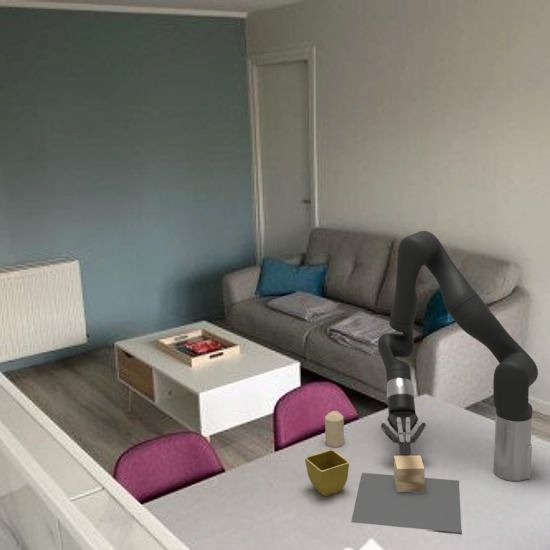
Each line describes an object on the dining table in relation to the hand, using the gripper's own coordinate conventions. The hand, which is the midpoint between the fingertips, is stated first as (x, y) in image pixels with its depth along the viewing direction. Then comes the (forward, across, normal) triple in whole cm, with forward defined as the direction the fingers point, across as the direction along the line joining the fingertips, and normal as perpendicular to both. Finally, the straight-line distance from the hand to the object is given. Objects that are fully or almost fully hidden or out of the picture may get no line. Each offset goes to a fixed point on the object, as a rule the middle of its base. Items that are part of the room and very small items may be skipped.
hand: (405, 457), depth 189 cm
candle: (-10, -19, +18) cm, 27 cm away
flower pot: (+10, -22, -2) cm, 24 cm away
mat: (+13, -1, -6) cm, 14 cm away
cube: (+8, 0, -1) cm, 8 cm away
